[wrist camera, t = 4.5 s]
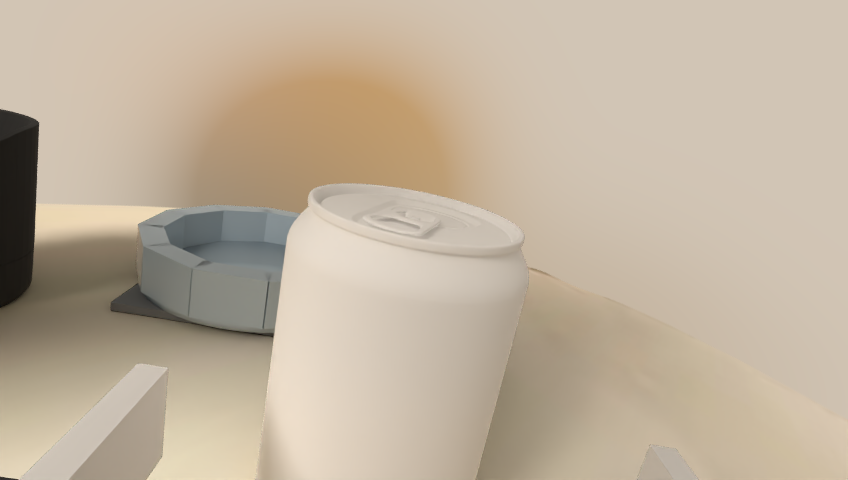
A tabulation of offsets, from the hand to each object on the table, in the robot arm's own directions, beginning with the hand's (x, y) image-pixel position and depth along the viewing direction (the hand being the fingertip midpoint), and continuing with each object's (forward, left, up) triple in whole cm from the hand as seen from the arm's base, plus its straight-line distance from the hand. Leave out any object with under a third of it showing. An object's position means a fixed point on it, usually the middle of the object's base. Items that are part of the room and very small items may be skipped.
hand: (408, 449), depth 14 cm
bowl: (-10, +24, -6) cm, 26 cm away
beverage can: (-1, +5, -7) cm, 8 cm away
